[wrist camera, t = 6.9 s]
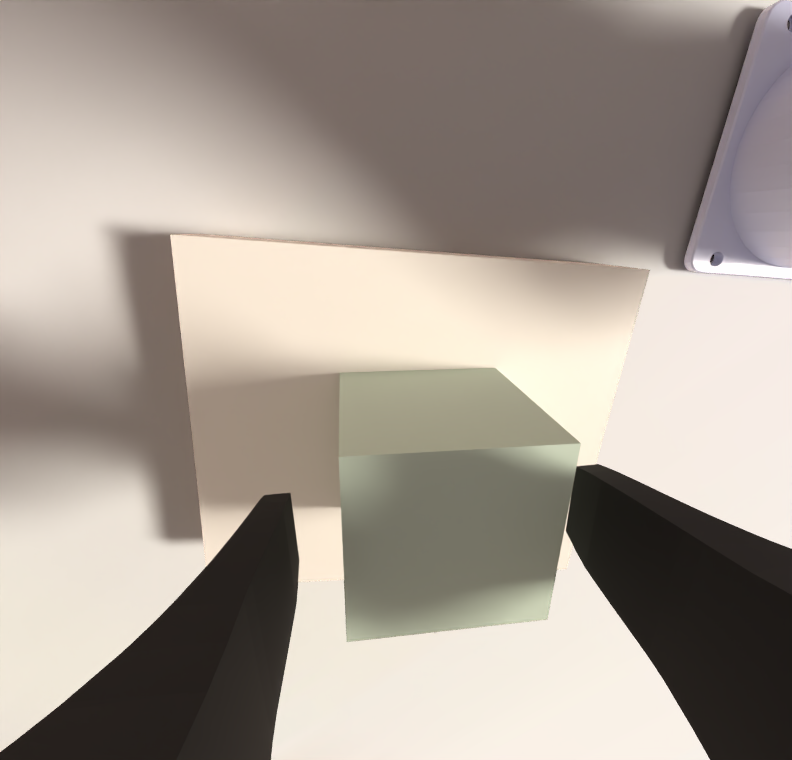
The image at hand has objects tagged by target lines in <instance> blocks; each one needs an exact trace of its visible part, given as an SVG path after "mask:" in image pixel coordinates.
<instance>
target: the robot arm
mask: <svg viewBox="0 0 792 760" xmlns="http://www.w3.org/2000/svg"><path fill="white" fill-rule="evenodd" d="M788 20H789V22H790V27H789V31H788V27H787V23H788ZM713 254H714V260H713V261H712V263H711V264H710V258H711V257H712V255H713ZM684 264H685V267H686V268H687V269H688V270H689V271H692V272H701V273H714V274H727V275H740V276H753V277H766V278H779V279H792V1H791V0H780V1H778V2H776V3H774V4H772V5H770V6H769V7H767V8H765V9H764V10H763V12H762V13H761V14H760V15H759V18H758V20H757V22H756V25H755V28H754V32H753V35H752V38H751V42H750V45H749V48H748V51H747V55H746V58H745V61H744V64H743V68H742V71H741V74H740V78H739V81H738V84H737V87H736V91H735V94H734V97H733V101H732V104H731V107H730V110H729V114H728V117H727V120H726V124H725V127H724V130H723V133H722V137H721V140H720V143H719V146H718V150H717V153H716V156H715V160H714V163H713V166H712V169H711V173H710V176H709V179H708V183H707V186H706V189H705V192H704V196H703V199H702V202H701V205H700V209H699V212H698V215H697V219H696V222H695V225H694V228H693V232H692V235H691V238H690V242H689V245H688V248H687V251H686V255H685V259H684ZM566 533H567V534H568V536H569V538H570V540H571V542H572V544H573V546H574V548H575V550H576V552H577V554H578V556H579V557H580V559H581V561H582V563H583V564H584V566H585V568H586V569H587V571H588V572H589V574H590V575H591V577H592V578H593V580H594V581H595V583H596V584H597V585H598V587H599V588H600V590H601V591H602V592H603V594H604V595H605V597H606V598H607V600H608V601H609V602H610V604H611V605H612V607H613V608H614V609H615V611H616V612H617V614H618V615H619V616H620V618H621V619H622V621H623V622H624V623H625V625H626V626H627V628H628V629H629V630H630V632H631V633H632V635H633V636H634V637H635V639H636V640H637V642H638V643H639V644H640V646H641V647H642V649H643V650H644V651H645V653H646V654H647V656H648V657H649V658H650V660H651V661H652V663H653V664H654V666H655V668H656V669H657V671H658V672H659V674H660V675H661V677H662V678H663V680H664V681H665V683H666V685H667V686H668V688H669V690H670V691H671V693H672V695H673V696H674V698H675V700H676V701H677V703H678V705H679V706H680V708H681V710H682V712H683V713H684V715H685V717H686V718H687V720H688V722H689V723H690V725H691V727H692V728H693V730H694V732H695V734H696V735H697V737H698V739H699V741H700V742H701V744H702V746H703V748H704V750H705V751H706V753H707V755H708V757H709V758H710V760H792V549H790V548H788V547H785V546H782V545H780V544H777V543H774V542H772V541H769V540H767V539H764V538H762V537H759V536H757V535H755V534H752V533H750V532H747V531H745V530H743V529H740V528H738V527H736V526H734V525H731V524H729V523H727V522H724V521H722V520H720V519H717V518H715V517H713V516H711V515H708V514H706V513H704V512H702V511H700V510H697V509H695V508H693V507H691V506H689V505H687V504H684V503H682V502H680V501H678V500H676V499H674V498H672V497H670V496H667V495H665V494H663V493H661V492H659V491H657V490H655V489H653V488H651V487H649V486H647V485H644V484H642V483H640V482H638V481H636V480H634V479H632V478H630V477H627V476H625V475H623V474H621V473H619V472H616V471H614V470H612V469H609V468H607V467H604V466H602V465H599V464H595V465H584V466H577V467H576V472H575V477H574V483H573V488H572V493H571V500H570V506H569V512H568V519H567V525H566ZM298 575H299V553H298V546H297V538H296V531H295V523H294V515H293V508H292V500H291V493H280V494H270V495H264V496H263V497H262V498H261V499H260V500H259V501H258V503H257V504H256V505H255V507H254V508H253V509H252V511H251V512H250V513H249V514H248V516H247V517H246V518H245V520H244V521H243V522H242V524H241V525H240V526H239V527H238V529H237V530H236V531H235V533H234V534H233V535H232V536H231V538H230V539H229V540H228V541H227V542H226V544H225V545H224V546H223V547H222V548H221V550H220V551H219V552H218V553H217V554H216V556H215V557H214V558H213V559H212V561H211V562H210V563H209V564H208V565H207V566H206V567H205V569H204V570H203V571H202V572H201V573H200V574H199V575H198V576H197V577H196V579H195V580H194V581H193V582H192V583H191V584H190V585H189V586H188V587H187V588H186V590H185V591H184V592H183V593H182V594H181V595H180V596H179V597H178V598H177V599H176V600H175V601H174V603H173V604H172V605H171V606H170V607H169V608H168V609H167V610H166V611H165V612H164V613H163V614H162V615H161V616H160V617H159V618H158V619H157V620H156V621H155V622H154V623H153V624H152V625H151V626H150V627H149V628H148V629H147V630H145V631H144V632H143V633H142V634H141V635H140V636H139V637H138V638H137V639H136V640H135V641H134V642H133V643H132V644H131V645H130V646H129V647H127V648H126V649H125V650H124V651H123V652H122V653H121V654H120V655H119V656H117V657H116V658H115V659H114V660H113V661H112V662H110V663H109V664H108V665H107V666H106V667H104V668H103V669H102V670H101V671H100V672H99V673H97V674H96V675H95V676H94V677H93V678H92V679H90V680H89V681H88V682H87V683H86V684H85V685H83V686H82V687H81V688H80V689H79V690H78V691H76V692H75V693H74V694H73V695H72V696H71V697H69V698H68V699H67V700H66V701H65V702H64V703H62V704H61V705H60V706H59V707H57V708H56V709H55V710H54V711H52V712H51V713H50V714H49V715H47V716H46V717H45V718H44V719H42V720H41V721H40V722H39V723H37V724H36V725H35V726H34V727H32V728H31V729H30V730H28V731H27V732H26V733H25V734H23V735H22V736H21V737H20V738H18V739H17V740H16V741H14V742H13V743H12V744H10V745H9V746H8V747H6V748H5V749H4V750H3V751H1V752H0V760H271V752H272V742H273V735H274V728H275V721H276V714H277V708H278V703H279V697H280V692H281V686H282V681H283V675H284V670H285V664H286V659H287V653H288V648H289V642H290V637H291V631H292V626H293V620H294V614H295V609H296V602H297V589H298Z"/></svg>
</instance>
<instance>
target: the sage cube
mask: <svg viewBox="0 0 792 760" xmlns="http://www.w3.org/2000/svg"><path fill="white" fill-rule="evenodd" d="M580 446H581V443H580V442H579V441H578V440H577V439H576V438H574V437H573V436H572V435H571V434H570V433H569V432H568V431H566V430H565V429H564V428H563V427H562V426H561V425H560V424H559V423H557V422H556V421H555V420H554V419H553V418H552V417H551V416H549V415H548V414H547V413H546V412H545V411H544V410H543V409H542V408H540V407H539V406H538V405H537V404H536V403H535V402H534V401H532V400H531V399H530V398H529V397H528V396H527V395H526V394H525V393H523V392H522V391H521V390H520V389H519V388H518V387H517V386H515V385H514V384H513V383H512V382H511V381H510V380H509V379H508V378H506V377H505V376H504V375H503V374H502V373H501V372H500V371H498V370H497V369H496V368H473V369H441V370H408V371H377V372H345V373H340V392H339V476H340V499H341V522H342V544H343V567H344V590H345V613H346V636H347V642H351V641H360V640H369V639H378V638H387V637H396V636H405V635H414V634H422V633H431V632H440V631H449V630H458V629H467V628H476V627H485V626H494V625H503V624H512V623H520V622H529V621H538V620H547V618H548V613H549V608H550V603H551V597H552V592H553V587H554V582H555V577H556V571H557V566H558V561H559V556H560V550H561V545H562V540H563V535H564V530H565V524H566V519H567V514H568V509H569V504H570V498H571V493H572V488H573V483H574V477H575V472H576V467H577V462H578V457H579V451H580Z"/></svg>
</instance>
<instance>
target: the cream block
mask: <svg viewBox="0 0 792 760" xmlns="http://www.w3.org/2000/svg"><path fill="white" fill-rule="evenodd" d="M170 238H171V247H172V256H173V265H174V275H175V284H176V293H177V303H178V312H179V321H180V330H181V340H182V349H183V358H184V368H185V377H186V386H187V395H188V405H189V414H190V423H191V433H192V442H193V451H194V460H195V470H196V479H197V488H198V497H199V507H200V516H201V525H202V535H203V544H204V553H205V562H206V566H207V565H208V564H209V563H210V562H211V561H212V559H213V558H214V557H215V556H216V554H217V553H218V552H219V551H220V550H221V548H222V547H223V546H224V545H225V544H226V542H227V541H228V540H229V539H230V538H231V536H232V535H233V534H234V533H235V531H236V530H237V529H238V527H239V526H240V525H241V524H242V522H243V521H244V520H245V518H246V517H247V516H248V514H249V513H250V512H251V511H252V509H253V508H254V507H255V505H256V504H257V503H258V501H259V500H260V499H261V498H262V497H263V496H264V495H270V494H280V493H291V500H292V508H293V515H294V523H295V531H296V538H297V546H298V553H299V575H298V582H310V581H331V580H344V567H343V544H342V522H341V499H340V476H339V392H340V373H345V372H377V371H408V370H441V369H473V368H496V369H497V370H498V371H500V372H501V373H502V374H503V375H504V376H505V377H506V378H508V379H509V380H510V381H511V382H512V383H513V384H514V385H515V386H517V387H518V388H519V389H520V390H521V391H522V392H523V393H525V394H526V395H527V396H528V397H529V398H530V399H531V400H532V401H534V402H535V403H536V404H537V405H538V406H539V407H540V408H542V409H543V410H544V411H545V412H546V413H547V414H548V415H549V416H551V417H552V418H553V419H554V420H555V421H556V422H557V423H559V424H560V425H561V426H562V427H563V428H564V429H565V430H566V431H568V432H569V433H570V434H571V435H572V436H573V437H574V438H576V439H577V440H578V441H579V442H580V443H581V446H580V451H579V457H578V462H577V466H584V465H595V464H596V462H597V458H598V454H599V451H600V447H601V444H602V440H603V436H604V433H605V429H606V426H607V422H608V418H609V415H610V411H611V408H612V404H613V401H614V397H615V393H616V390H617V386H618V383H619V379H620V375H621V372H622V368H623V365H624V361H625V357H626V354H627V350H628V347H629V343H630V339H631V336H632V332H633V329H634V325H635V322H636V318H637V314H638V311H639V307H640V304H641V300H642V296H643V293H644V289H645V286H646V282H647V278H648V275H649V271H650V270H646V269H638V268H630V267H622V266H613V265H605V264H594V263H581V262H567V261H554V260H541V259H527V258H514V257H501V256H487V255H474V254H461V253H447V252H434V251H421V250H407V249H394V248H381V247H367V246H354V245H341V244H327V243H314V242H301V241H287V240H274V239H261V238H248V237H234V236H221V235H208V234H170ZM570 500H571V498H570ZM569 506H570V504H569ZM568 512H569V509H568ZM567 519H568V514H567ZM567 519H566V524H565V530H564V535H563V540H562V545H561V550H560V556H559V561H558V566H557V570H564V569H567V566H568V562H569V558H570V555H571V551H572V548H573V544H572V542H571V540H570V538H569V536H568V534H567V533H566V525H567Z"/></svg>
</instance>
